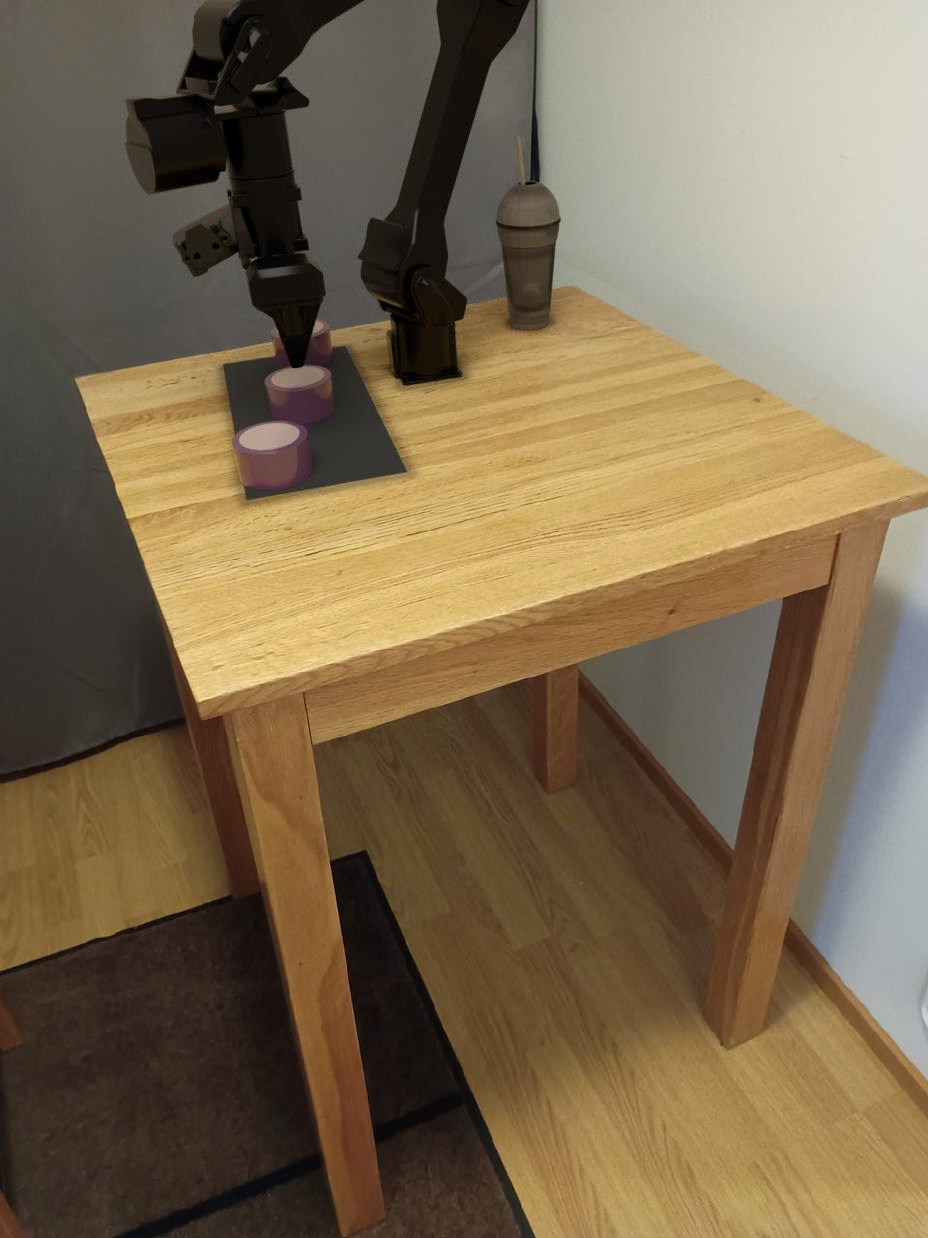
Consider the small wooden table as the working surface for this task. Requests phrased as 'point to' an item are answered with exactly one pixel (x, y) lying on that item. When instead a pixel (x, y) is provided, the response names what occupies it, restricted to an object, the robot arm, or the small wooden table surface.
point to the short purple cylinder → (317, 350)
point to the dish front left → (300, 394)
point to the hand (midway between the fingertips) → (291, 350)
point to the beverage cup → (528, 249)
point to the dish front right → (272, 455)
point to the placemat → (321, 424)
